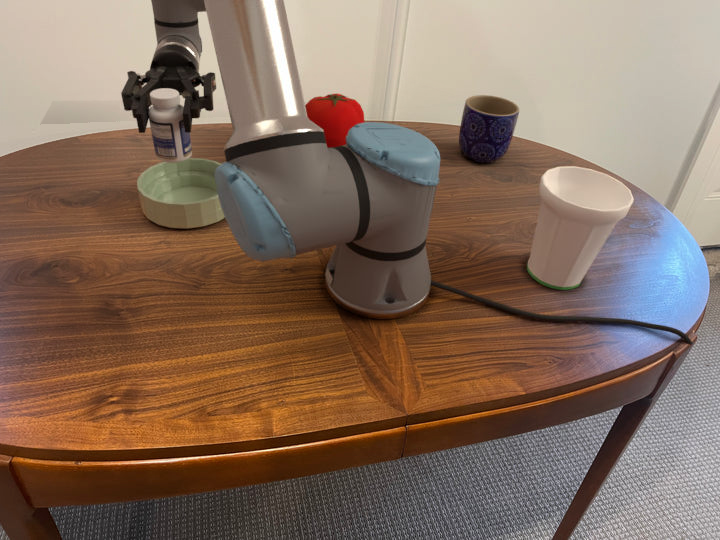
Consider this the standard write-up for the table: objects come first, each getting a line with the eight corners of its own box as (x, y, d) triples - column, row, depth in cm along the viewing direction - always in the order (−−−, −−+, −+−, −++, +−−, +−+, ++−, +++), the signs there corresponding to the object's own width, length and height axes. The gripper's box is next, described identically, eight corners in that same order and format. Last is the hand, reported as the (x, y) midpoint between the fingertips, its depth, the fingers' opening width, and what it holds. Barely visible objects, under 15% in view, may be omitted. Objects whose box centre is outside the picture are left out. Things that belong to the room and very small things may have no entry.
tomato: (368, 162, 108) (374, 107, 101) (302, 165, 105) (303, 108, 98) (355, 136, 117) (359, 84, 110) (294, 138, 114) (294, 84, 107)
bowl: (254, 203, 93) (253, 177, 90) (186, 242, 82) (182, 215, 79) (193, 174, 99) (190, 149, 96) (122, 207, 89) (116, 181, 85)
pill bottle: (182, 144, 85) (174, 83, 79) (198, 158, 82) (191, 95, 76) (149, 152, 82) (138, 90, 76) (164, 167, 79) (154, 102, 73)
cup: (546, 306, 77) (581, 217, 68) (498, 256, 86) (523, 171, 76) (612, 290, 81) (654, 203, 72) (560, 243, 90) (591, 161, 81)
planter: (459, 140, 119) (469, 91, 112) (508, 150, 117) (522, 100, 110) (450, 161, 111) (461, 109, 104) (503, 172, 109) (517, 120, 102)
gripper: (232, 88, 95) (234, 147, 78) (122, 87, 92) (98, 149, 74) (229, 44, 91) (230, 97, 73) (113, 42, 87) (84, 96, 69)
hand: (163, 123), depth 74 cm, fingers closed on pill bottle, 5 cm apart
